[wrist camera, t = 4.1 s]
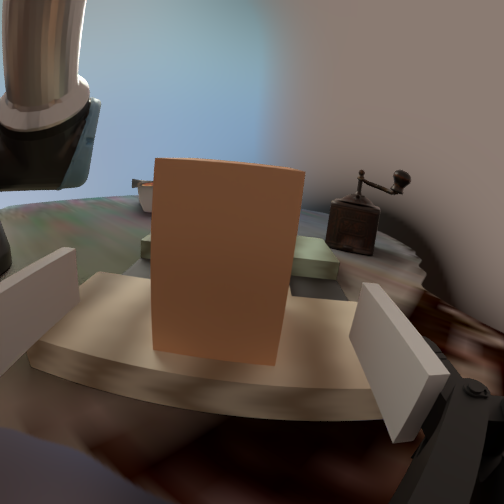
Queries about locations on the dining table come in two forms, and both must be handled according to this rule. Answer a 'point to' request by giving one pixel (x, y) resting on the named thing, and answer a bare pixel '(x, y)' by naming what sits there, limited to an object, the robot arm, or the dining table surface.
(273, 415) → the board
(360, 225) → the brown manual coffee grinder
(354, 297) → the dining table surface
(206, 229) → the terracotta block
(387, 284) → the dining table surface
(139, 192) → the food packaging
